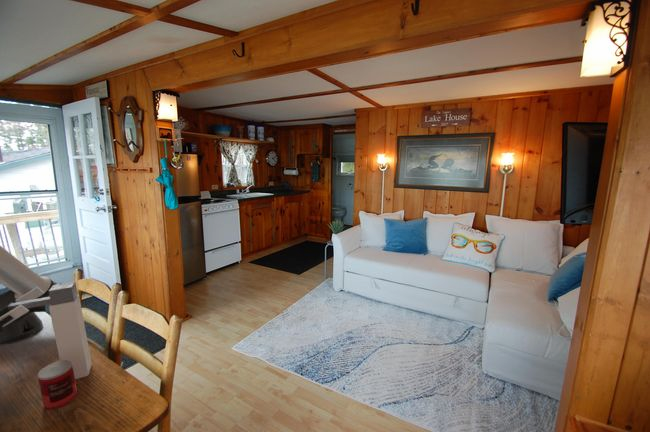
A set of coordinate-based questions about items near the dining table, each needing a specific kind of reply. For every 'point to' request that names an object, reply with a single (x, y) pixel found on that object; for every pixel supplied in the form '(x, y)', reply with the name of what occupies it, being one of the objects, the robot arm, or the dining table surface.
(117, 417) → the dining table surface
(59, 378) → the canned food
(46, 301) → the steel bar
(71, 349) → the stand
